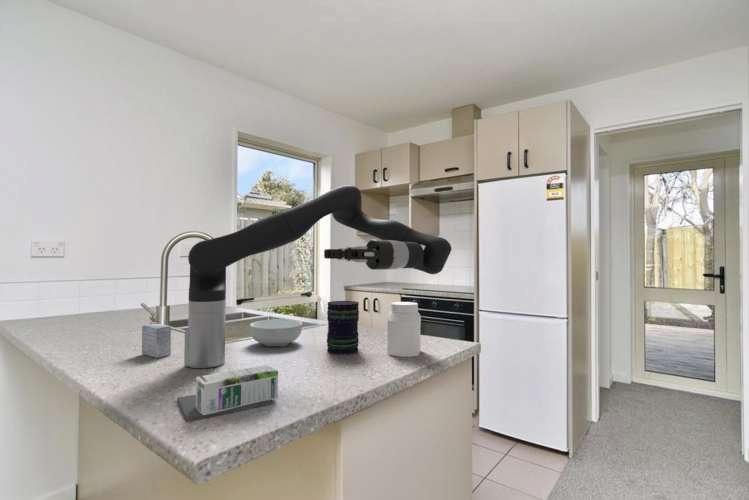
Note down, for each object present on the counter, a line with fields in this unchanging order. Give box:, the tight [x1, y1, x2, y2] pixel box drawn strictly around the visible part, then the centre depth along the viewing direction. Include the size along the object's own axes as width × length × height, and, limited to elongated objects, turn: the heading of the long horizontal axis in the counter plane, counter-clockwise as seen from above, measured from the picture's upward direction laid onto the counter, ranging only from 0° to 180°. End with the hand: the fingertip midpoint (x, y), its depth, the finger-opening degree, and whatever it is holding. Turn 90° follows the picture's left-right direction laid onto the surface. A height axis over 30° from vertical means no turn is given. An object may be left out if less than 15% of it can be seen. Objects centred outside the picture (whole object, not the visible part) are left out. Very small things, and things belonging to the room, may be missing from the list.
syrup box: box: [195, 364, 279, 415], centre depth 76 cm, size 6×6×14 cm
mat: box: [177, 393, 271, 422], centre depth 78 cm, size 15×12×1 cm
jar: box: [386, 301, 422, 358], centre depth 121 cm, size 12×10×15 cm
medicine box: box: [141, 323, 172, 359], centre depth 115 cm, size 8×4×9 cm, turn 58°
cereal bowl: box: [249, 318, 303, 347], centre depth 130 cm, size 17×17×7 cm
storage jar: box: [326, 300, 360, 356], centre depth 122 cm, size 10×10×15 cm
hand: (325, 253), depth 91 cm, fingers closed
